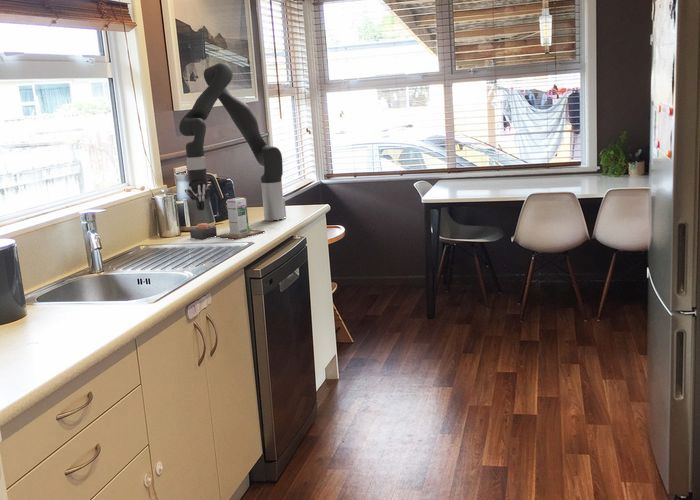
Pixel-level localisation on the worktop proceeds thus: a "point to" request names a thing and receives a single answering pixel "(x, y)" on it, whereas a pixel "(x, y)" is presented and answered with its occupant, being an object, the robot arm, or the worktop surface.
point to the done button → (202, 226)
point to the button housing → (203, 233)
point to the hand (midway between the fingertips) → (200, 210)
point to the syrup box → (237, 216)
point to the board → (235, 237)
